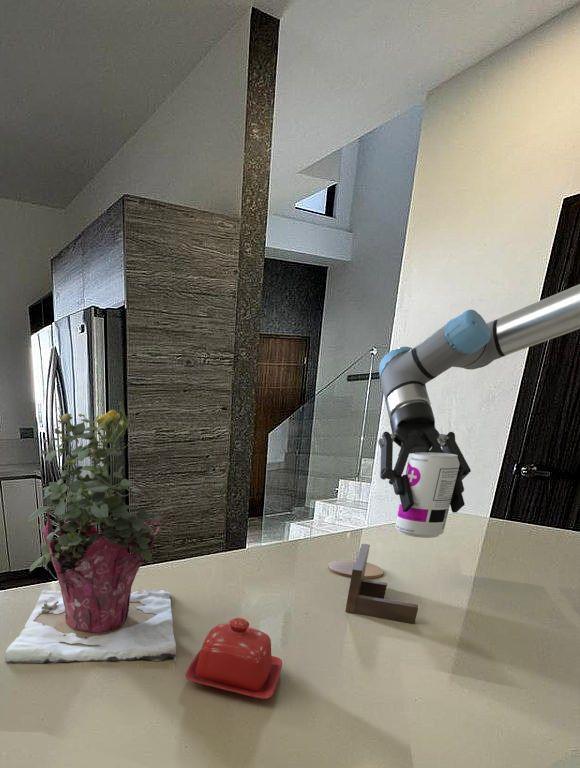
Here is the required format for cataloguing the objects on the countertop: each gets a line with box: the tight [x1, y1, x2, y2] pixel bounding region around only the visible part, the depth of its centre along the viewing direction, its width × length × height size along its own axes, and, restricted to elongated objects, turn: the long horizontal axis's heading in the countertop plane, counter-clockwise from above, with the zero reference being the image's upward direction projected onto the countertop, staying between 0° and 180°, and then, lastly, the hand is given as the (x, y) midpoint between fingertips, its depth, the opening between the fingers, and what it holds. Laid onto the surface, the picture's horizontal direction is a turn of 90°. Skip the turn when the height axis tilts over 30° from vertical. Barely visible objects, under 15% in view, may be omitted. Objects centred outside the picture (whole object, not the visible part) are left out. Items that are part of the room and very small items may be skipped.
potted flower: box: [4, 401, 177, 664], centre depth 74 cm, size 27×25×35 cm
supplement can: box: [394, 452, 460, 539], centre depth 91 cm, size 8×8×15 cm
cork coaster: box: [327, 559, 384, 580], centre depth 105 cm, size 11×11×1 cm
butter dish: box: [184, 617, 283, 700], centre depth 64 cm, size 12×12×8 cm
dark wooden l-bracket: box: [344, 543, 419, 625], centre depth 88 cm, size 11×18×8 cm, turn 151°
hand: (433, 508), depth 89 cm, fingers closed on supplement can, 8 cm apart
